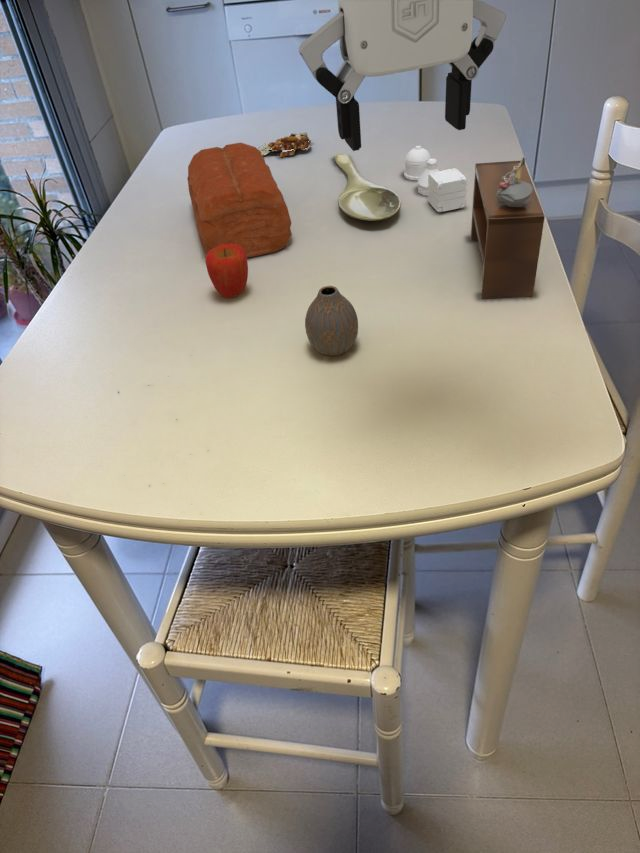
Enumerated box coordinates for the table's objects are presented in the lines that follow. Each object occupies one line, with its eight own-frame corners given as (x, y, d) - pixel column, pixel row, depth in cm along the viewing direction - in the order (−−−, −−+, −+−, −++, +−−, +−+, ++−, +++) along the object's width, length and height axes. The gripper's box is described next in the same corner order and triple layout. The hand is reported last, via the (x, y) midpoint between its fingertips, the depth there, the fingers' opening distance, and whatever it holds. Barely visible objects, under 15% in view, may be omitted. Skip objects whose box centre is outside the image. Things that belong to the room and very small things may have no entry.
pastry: (256, 149, 142) (253, 132, 140) (310, 141, 142) (308, 124, 140) (257, 161, 137) (254, 144, 135) (313, 153, 137) (311, 136, 135)
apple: (244, 306, 96) (235, 261, 91) (207, 303, 98) (195, 258, 93) (258, 283, 101) (250, 239, 95) (222, 281, 102) (212, 237, 97)
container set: (465, 209, 112) (467, 177, 108) (437, 215, 111) (437, 183, 108) (426, 167, 126) (426, 138, 123) (400, 172, 126) (400, 143, 122)
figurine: (534, 211, 84) (540, 165, 80) (499, 214, 84) (503, 168, 80) (525, 193, 88) (531, 148, 83) (492, 196, 88) (496, 152, 84)
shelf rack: (515, 235, 104) (523, 160, 95) (532, 296, 91) (544, 215, 83) (470, 237, 105) (475, 163, 96) (481, 298, 92) (488, 219, 83)
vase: (298, 353, 86) (289, 297, 80) (327, 327, 90) (321, 271, 84) (341, 368, 83) (335, 311, 77) (369, 340, 87) (366, 283, 81)
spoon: (316, 168, 135) (315, 157, 134) (365, 160, 136) (365, 149, 134) (349, 233, 108) (348, 221, 107) (411, 222, 109) (411, 210, 108)
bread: (269, 186, 127) (260, 131, 120) (298, 248, 108) (290, 186, 100) (191, 202, 125) (177, 146, 118) (206, 267, 106) (191, 206, 99)
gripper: (296, -89, 43) (321, 169, 54) (539, -126, 45) (513, 131, 56) (274, -97, 48) (301, 139, 60) (492, -130, 50) (477, 105, 62)
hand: (404, 135), depth 58 cm, fingers open, 9 cm apart
